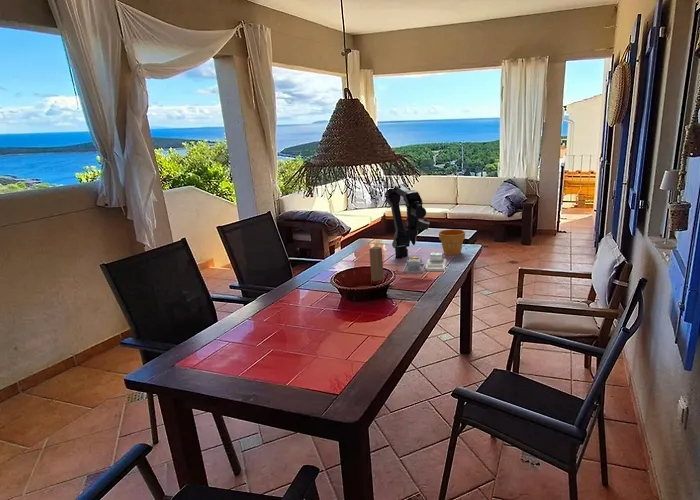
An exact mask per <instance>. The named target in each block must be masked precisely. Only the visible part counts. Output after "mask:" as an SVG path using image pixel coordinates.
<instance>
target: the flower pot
mask: <svg viewBox="0 0 700 500" xmlns="http://www.w3.org/2000/svg"><path fill="white" fill-rule="evenodd" d="M465 238H466V231H465V230H463V229H455V228H453V229H452V228H451V229H445V230H444V229H443V230H440V231H439V232H438V240H439V241H440V242H441V243H440V244H441V247H442V250H443V255H444V254H445V255H446V256H447V255H448V256H456V255H457V256H458V255H460V254H461V253H462V248H463V243H464V240H465Z"/></svg>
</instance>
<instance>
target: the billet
mask: <svg viewBox="0 0 700 500" xmlns="http://www.w3.org/2000/svg"><path fill="white" fill-rule="evenodd" d="M407 260H408V259H407ZM421 263H422V262H421ZM421 263H420V259H409V260H408V265H407V271H421V268H422V267H421V266H422V265H421Z"/></svg>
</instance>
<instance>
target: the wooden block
mask: <svg viewBox="0 0 700 500" xmlns="http://www.w3.org/2000/svg"><path fill="white" fill-rule="evenodd" d="M382 249H383V248H382V247H381V246H373V247H371V248H369V262H370V264H369V265H370V277H371V278H370V280H371V281H372V280H373V281H378V280H382V279H385V278H386V277H385V276H384V274H385V273H386V272H385V270H384V267H383V266H384V263H383V250H382Z"/></svg>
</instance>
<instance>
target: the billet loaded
mask: <svg viewBox="0 0 700 500" xmlns="http://www.w3.org/2000/svg"><path fill="white" fill-rule="evenodd" d="M443 255H444V252H431V253H430V255H429V256H430V258H429V259H431V262H443V259H444V256H443Z"/></svg>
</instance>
